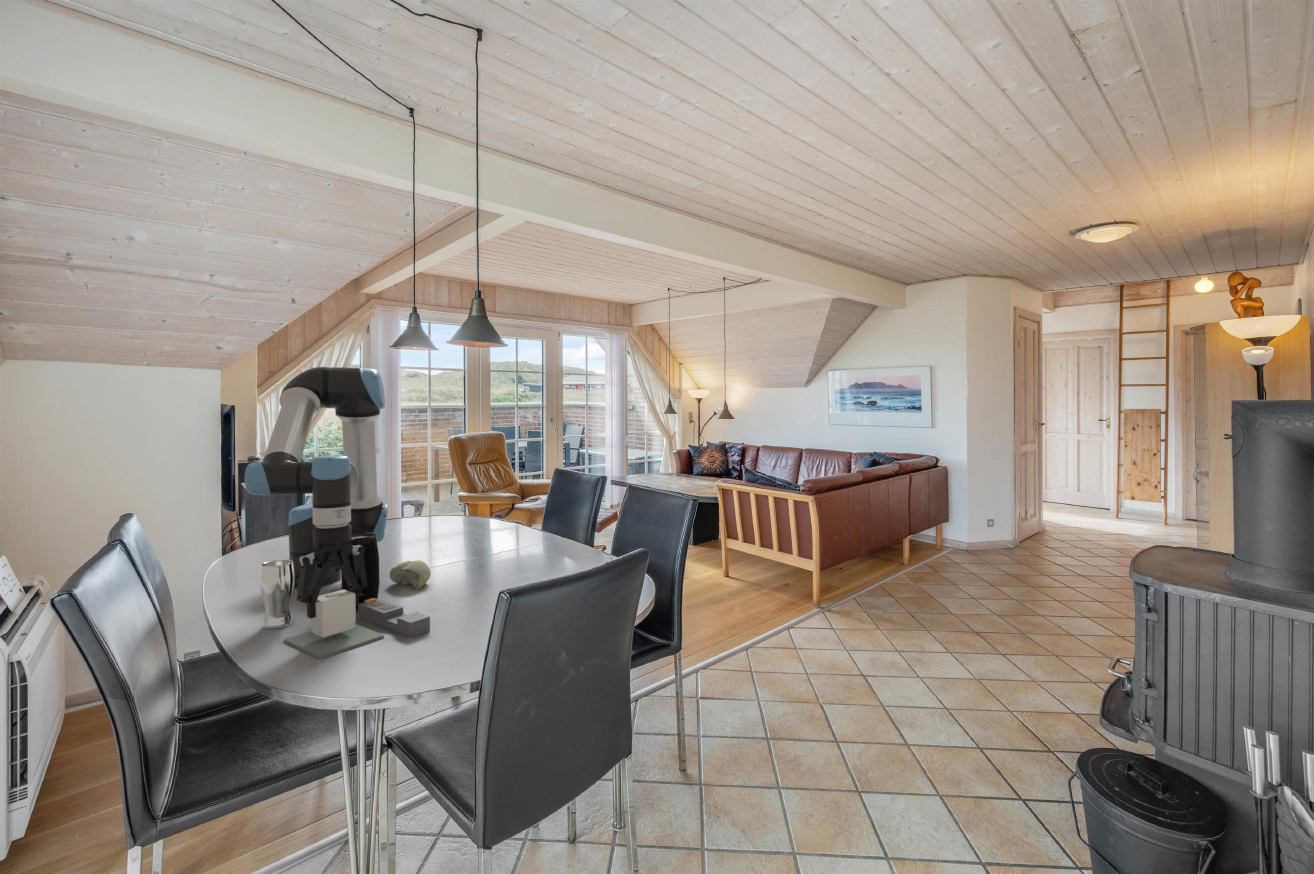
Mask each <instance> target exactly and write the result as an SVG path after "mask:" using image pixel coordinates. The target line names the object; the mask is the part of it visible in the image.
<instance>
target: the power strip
mask: <svg viewBox="0 0 1314 874" xmlns="http://www.w3.org/2000/svg"><path fill="white" fill-rule="evenodd" d="M357 609H358V611H357V612H358V619H362V620H364V621H366V622H368V623H372V624H374V625H376V626H379V627H381V628H384V629H387V630H390V631H392V632H394V633H397V634H399V635H402V636H404V637H405V636H406V637H407V638H414V637H417V636H420V635H422V634H425V633H428V632H431V616H429V615H427V614H424V613H420V612H418V611H414V612H412V613H408V614H406V613H404V607H403V606H401V605H398V604H394V603H392V602H390V601H385V600H383V599H380V598H378V599H375V598H372V599H368V600H365V602H363V603H359V604H358V608H357Z"/></svg>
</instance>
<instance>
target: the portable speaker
mask: <svg viewBox="0 0 1314 874" xmlns="http://www.w3.org/2000/svg"><path fill="white" fill-rule="evenodd" d="M351 544H352V545H353V546H356V545H360V546H364V547H365V552H364V563H365V571H366V578H367V587H366V588H362V591H361V592H360V593H359V603H363V602H365V600H368V599H372V598H375V599H379V591H380V590H379V589H380V553H379V547H378V542H377V539H376V534H375V533H372V532H366V533H364V534H357V535H352V534H351ZM348 560H349V562H350V567H351V569H352V572H353V574H354V576H355V579H356V575H355V568H354V561H353V554H352V551H351V553H350V555H349V556H348ZM340 580H341V590H347V591H350V590H349V588H348V585H347V583H346V581H345V578H344V576H343V574H342V572H341V578H340ZM357 609H358V605H357V606H356V610H357Z"/></svg>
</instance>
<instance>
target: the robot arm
mask: <svg viewBox="0 0 1314 874" xmlns="http://www.w3.org/2000/svg"><path fill="white" fill-rule="evenodd" d="M385 396H386V395H385V389H384V383H383V379H382V376H381V373H380V372H379V371H378V370H377V369H374V368H368V367H367V368H366V367H348V366H347V367H345V366H344V367H342V366H341V367H339V366H337V367H334V366H332V367H330V366H329V367H328V366H317V367H311V368H309V369H306V370H304V371H302V372H300V373H299V374H297V375H296V376H295V377H293V378H291V379H290V380H289V381H288V382H287V384H286V385H284V387H283V389H282V391H281V393H280V396H279V401H278V402H279V405H280V410H279V412H278V415H277V418H276V422H275V424H274V427H273V430H272V433H271V435H270V439H269V441H268V444H267V446H266V447H267V448H266V450H265V453H264V456H263V459H262V462H261V461H258V462H251V463H249V464H248V465H247V466H246V468H245V471H244V485H245V488H246V491H247V493H249V495H253V496H277V495H278V496H279V495H280V496H281V495H297V494H298V495H302V494H303V495H305V494H306V495H307V494H312V503H307V504H302V505H299V506H295V507H294V508H292V509H290V511H289V513H288V523H287V527H288V551H289V553H288V554H289V556H288V560H293V565H294V575H295V584H294V589H297V592H296V601H298V602H300V603H302V604H306V617H307V618H309V619H310V629H311V630H310V631H314V632H316V633H319V632H321V609H320V602H317V599H318V596H320V593H321V590H322V587H323V586H324V585H325V586H326V585H329V584H330V585H331V584H333V583H335V582H338V581H340V580H341V572H342V574H343V576H344V578H345V581H346V583H347V585H348V588H349V590H350V592H352V593H354V598H355V623H356V622H357V613H356V611H357V609H356V606H357V605H358V604H359V593H360V592H361V591H362V588H366V587H367V578H366V571H365V563H364V552H365V547H364V546H360V545H356V546H353V545H352V544H351V534H352V535H357V534H364V533H366V532H372V533H375V534H376V539H377V543H378V542H381V541H383V540H384V539H385V535H386V528H387V522H388V513H389V504H388V503H384V499H383V497H382V496H381V495H379V494H378V478H377V477H378V475H377V453H376V451H377V450H376V449H377V448H376V426H375V425H376V424H375V420H376V418H378V417H379V416H380V415H381V410H383V409H385V408H386V398H385ZM325 408H326V409H334V410H335V412H334V413H335V416H336V417H338V419H340V420H341V427H342V428H341V429H342V432H341V433H342V450H343V451H342V452H343V455H341V454H340V455H339V454H337V455H335V454H332V455H318V456H315V457H313V458H312V461H302V457H303V454H304V452H305V451H304V450H305V447H306V443H307V441H308V440H307V439H308V436H309V432H310V428H311V425H312V421H313V417H314V415H315V414H317V413H318V412H319V409H325ZM351 551H352V554H353V561H354V568H355V575H356V579H355V576H354V574H353V572H352V569H351V567H350V562H349V560H348V556H349V555H350V553H351Z"/></svg>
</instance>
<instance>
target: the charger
mask: <svg viewBox="0 0 1314 874" xmlns="http://www.w3.org/2000/svg"><path fill="white" fill-rule="evenodd" d="M317 602H320V609H321V632H319V633H316V632H314V631H313V633H314V634H316V635H319V636H321V637H327V636H330V635H333V634H336V633H339V632H343V631H346V630H349V629H352V628H355V624H356V622H355V598H354V593H352V592H350V591H347V590H342V589H341V590H337V591H333V592H328V593H326V594H325V593H324V594H319V596H318V599H317Z"/></svg>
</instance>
